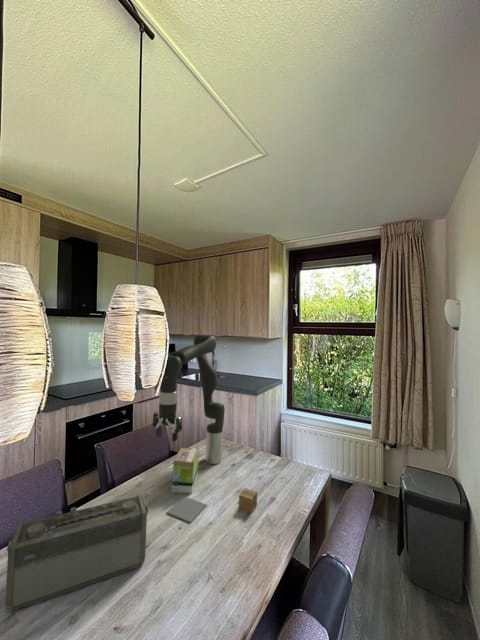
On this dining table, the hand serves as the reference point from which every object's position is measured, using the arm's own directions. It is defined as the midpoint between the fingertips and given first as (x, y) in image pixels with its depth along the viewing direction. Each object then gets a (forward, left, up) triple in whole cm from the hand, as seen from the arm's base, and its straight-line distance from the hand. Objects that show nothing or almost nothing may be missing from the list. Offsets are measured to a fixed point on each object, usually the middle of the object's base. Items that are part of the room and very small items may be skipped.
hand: (166, 438), depth 121 cm
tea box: (-17, -1, -29) cm, 34 cm away
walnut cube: (-16, +33, -29) cm, 46 cm away
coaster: (-2, +11, -29) cm, 31 cm away
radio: (+37, -1, -29) cm, 47 cm away
